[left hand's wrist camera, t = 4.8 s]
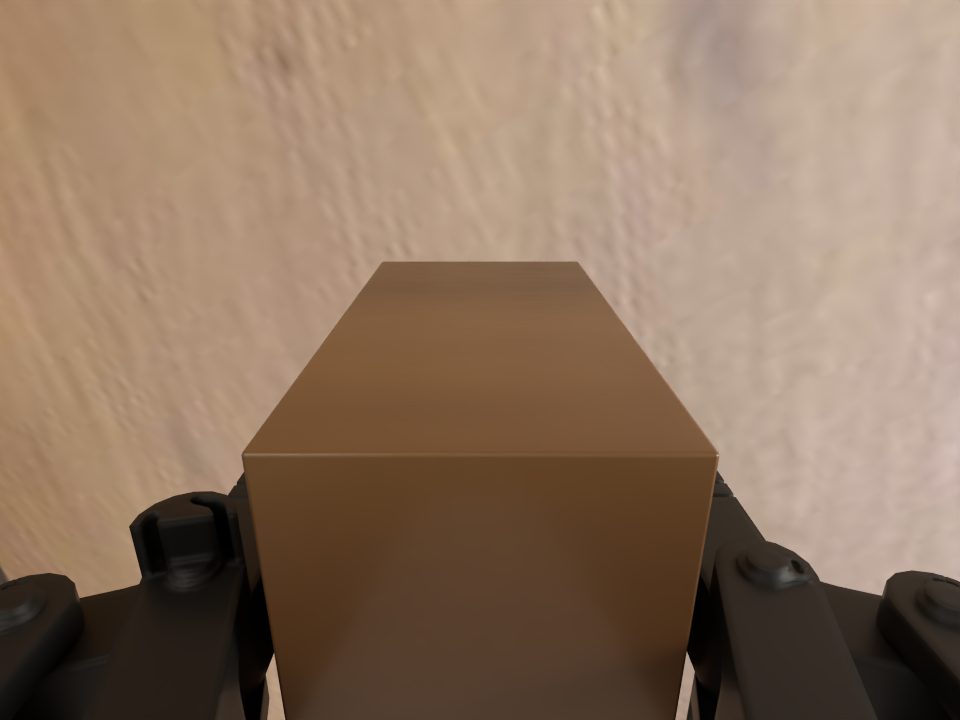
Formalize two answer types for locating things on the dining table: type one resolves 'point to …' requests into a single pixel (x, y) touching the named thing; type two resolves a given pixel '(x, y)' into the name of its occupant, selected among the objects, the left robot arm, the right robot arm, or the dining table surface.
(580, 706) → the bar
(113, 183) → the dining table surface
